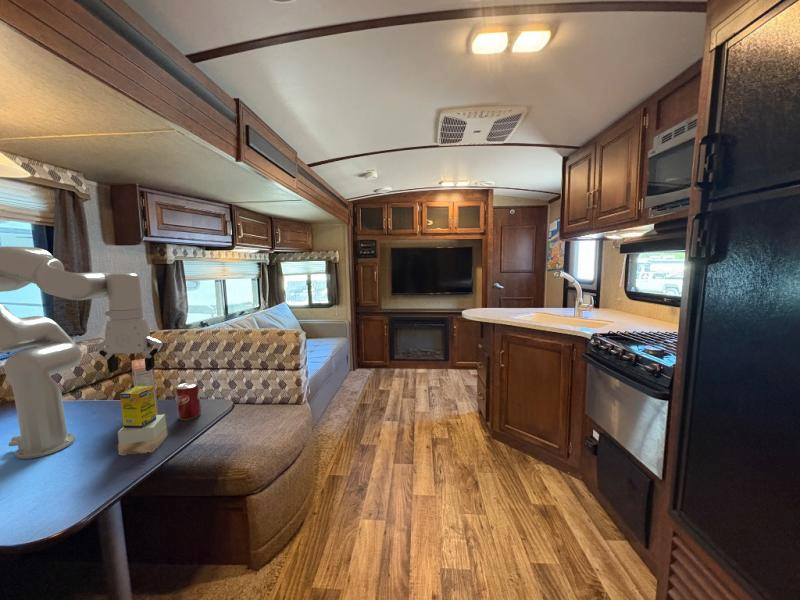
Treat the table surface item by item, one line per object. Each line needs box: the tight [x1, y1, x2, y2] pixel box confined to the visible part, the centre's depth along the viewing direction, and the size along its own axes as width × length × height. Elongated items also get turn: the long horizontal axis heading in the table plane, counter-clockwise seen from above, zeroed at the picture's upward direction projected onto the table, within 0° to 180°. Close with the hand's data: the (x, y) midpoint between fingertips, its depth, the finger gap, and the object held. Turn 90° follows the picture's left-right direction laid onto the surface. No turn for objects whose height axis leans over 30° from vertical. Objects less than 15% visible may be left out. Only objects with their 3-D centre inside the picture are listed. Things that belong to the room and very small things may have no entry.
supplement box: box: [119, 386, 156, 428], centre depth 101 cm, size 6×6×11 cm
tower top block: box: [117, 413, 167, 445], centre depth 102 cm, size 9×9×4 cm
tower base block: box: [117, 425, 169, 456], centre depth 102 cm, size 9×9×4 cm
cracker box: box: [131, 358, 160, 415], centre depth 120 cm, size 14×6×21 cm, turn 41°
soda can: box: [174, 381, 202, 421], centre depth 121 cm, size 7×7×12 cm
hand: (132, 370), depth 99 cm, fingers open, 9 cm apart
